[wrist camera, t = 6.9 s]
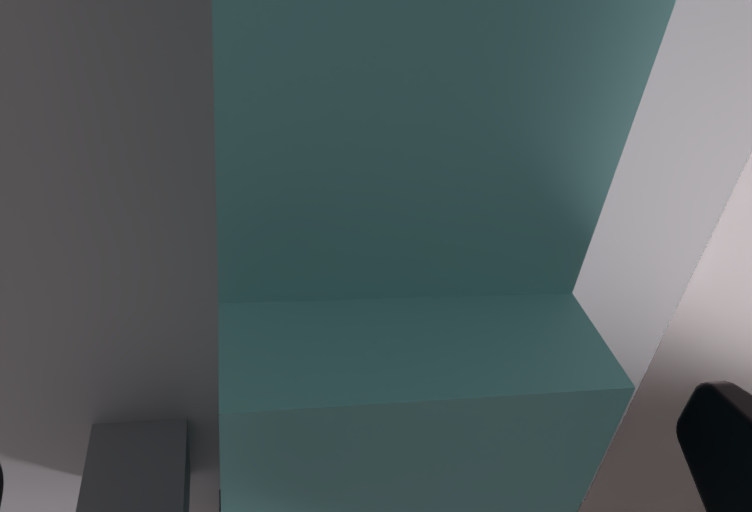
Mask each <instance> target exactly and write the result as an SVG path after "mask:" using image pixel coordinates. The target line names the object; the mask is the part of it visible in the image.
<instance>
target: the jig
mask: <svg viewBox="0 0 752 512" xmlns="http://www.w3.org/2000/svg"><path fill="white" fill-rule="evenodd" d="M751 152H752V0H676V3H675V5H674V8H673V11H672V14H671V17H670V20H669V22H668V25H667V28H666V31H665V34H664V36H663V39H662V42H661V45H660V48H659V50H658V53H657V56H656V59H655V62H654V65H653V67H652V70H651V73H650V76H649V79H648V81H647V84H646V87H645V90H644V93H643V95H642V98H641V101H640V104H639V107H638V110H637V112H636V115H635V118H634V121H633V124H632V126H631V129H630V132H629V135H628V138H627V140H626V143H625V146H624V149H623V152H622V155H621V157H620V160H619V163H618V166H617V169H616V171H615V174H614V177H613V180H612V183H611V185H610V188H609V191H608V194H607V197H606V200H605V202H604V205H603V208H602V211H601V214H600V216H599V219H598V222H597V225H596V228H595V230H594V233H593V236H592V239H591V242H590V245H589V247H588V250H587V253H586V256H585V259H584V261H583V264H582V267H581V270H580V273H579V275H578V278H577V281H576V284H575V287H574V290H573V292H572V293H573V295H574V296H575V298H576V299H577V301H578V302H579V304H580V305H581V307H582V308H583V310H584V311H585V313H586V314H587V316H588V317H589V319H590V320H591V322H592V323H593V325H594V326H595V328H596V329H597V331H598V332H599V334H600V335H601V337H602V338H603V340H604V341H605V343H606V344H607V346H608V347H609V349H610V350H611V352H612V353H613V355H614V356H615V358H616V359H617V361H618V362H619V364H620V365H621V367H622V368H623V369H624V371H625V372H626V374H627V375H628V377H629V378H630V380H631V381H632V383H633V384H634V386H635V387H636V388H635V390H634V392H633V395H632V397H631V399H630V401H629V403H628V405H627V407H626V409H625V412H624V414H623V416H622V418H621V420H620V422H619V424H618V426H617V429H616V431H615V433H614V435H613V437H612V439H611V441H610V443H609V446H608V448H607V450H606V452H605V454H604V456H603V458H602V460H601V463H600V465H599V467H598V469H597V471H596V473H595V475H594V477H593V480H592V482H591V484H590V486H589V488H588V490H587V492H586V494H585V497H584V499H583V500H585V498H586V496H587V494H588V492H589V490H590V488H591V485H592V483H593V481H594V479H595V477H596V475H597V473H598V471H599V469H600V467H601V465H602V462H603V460H604V458H605V456H606V454H607V452H608V450H609V448H610V446H611V444H612V442H613V440H614V437H615V435H616V433H617V431H618V429H619V427H620V425H621V423H622V421H623V419H624V417H625V415H626V412H627V410H628V408H629V406H630V404H631V402H632V400H633V398H634V396H635V394H636V392H637V390H638V387H639V385H640V383H641V381H642V379H643V377H644V375H645V373H646V371H647V369H648V367H649V364H650V362H651V360H652V358H653V356H654V354H655V352H656V350H657V348H658V346H659V344H660V342H661V339H662V337H663V335H664V333H665V331H666V329H667V327H668V325H669V323H670V321H671V319H672V317H673V314H674V312H675V310H676V308H677V306H678V304H679V302H680V300H681V298H682V296H683V294H684V291H685V289H686V287H687V285H688V283H689V281H690V279H691V277H692V275H693V273H694V271H695V269H696V266H697V264H698V262H699V260H700V258H701V256H702V254H703V252H704V250H705V248H706V246H707V244H708V241H709V239H710V237H711V235H712V233H713V231H714V229H715V227H716V225H717V223H718V221H719V218H720V216H721V214H722V212H723V210H724V208H725V206H726V204H727V202H728V200H729V198H730V196H731V193H732V191H733V189H734V187H735V185H736V183H737V181H738V179H739V177H740V175H741V173H742V171H743V168H744V166H745V164H746V162H747V160H748V158H749V156H750V154H751ZM0 464H1V467H2V470H3V477H4V487H3V496H2V502H1V507H0V512H221V489H220V447H219V338H218V261H217V214H216V167H215V120H214V73H213V26H212V0H0Z"/></svg>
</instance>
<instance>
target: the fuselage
mask: <svg viewBox="0 0 752 512" xmlns="http://www.w3.org/2000/svg"><path fill="white" fill-rule="evenodd" d="M675 3H676V0H212V26H213V73H214V120H215V167H216V214H217V261H218V338H219V447H220V489H221V512H577V511H578V509H579V507H580V505H581V503H582V501H583V499H584V497H585V494H586V492H587V490H588V488H589V486H590V484H591V482H592V480H593V477H594V475H595V473H596V471H597V469H598V467H599V465H600V463H601V460H602V458H603V456H604V454H605V452H606V450H607V448H608V446H609V443H610V441H611V439H612V437H613V435H614V433H615V431H616V429H617V426H618V424H619V422H620V420H621V418H622V416H623V414H624V412H625V409H626V407H627V405H628V403H629V401H630V399H631V397H632V395H633V392H634V390H635V388H636V387H635V386H634V384H633V383H632V381H631V380H630V378H629V377H628V375H627V374H626V372H625V371H624V369H623V368H622V367H621V365H620V364H619V362H618V361H617V359H616V358H615V356H614V355H613V353H612V352H611V350H610V349H609V347H608V346H607V344H606V343H605V341H604V340H603V338H602V337H601V335H600V334H599V332H598V331H597V329H596V328H595V326H594V325H593V323H592V322H591V320H590V319H589V317H588V316H587V314H586V313H585V311H584V310H583V308H582V307H581V305H580V304H579V302H578V301H577V299H576V298H575V296H574V295H573V293H572V292H573V290H574V287H575V284H576V281H577V278H578V275H579V273H580V270H581V267H582V264H583V261H584V259H585V256H586V253H587V250H588V247H589V245H590V242H591V239H592V236H593V233H594V230H595V228H596V225H597V222H598V219H599V216H600V214H601V211H602V208H603V205H604V202H605V200H606V197H607V194H608V191H609V188H610V185H611V183H612V180H613V177H614V174H615V171H616V169H617V166H618V163H619V160H620V157H621V155H622V152H623V149H624V146H625V143H626V140H627V138H628V135H629V132H630V129H631V126H632V124H633V121H634V118H635V115H636V112H637V110H638V107H639V104H640V101H641V98H642V95H643V93H644V90H645V87H646V84H647V81H648V79H649V76H650V73H651V70H652V67H653V65H654V62H655V59H656V56H657V53H658V50H659V48H660V45H661V42H662V39H663V36H664V34H665V31H666V28H667V25H668V22H669V20H670V17H671V14H672V11H673V8H674V5H675Z"/></svg>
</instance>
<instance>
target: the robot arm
mask: <svg viewBox="0 0 752 512" xmlns="http://www.w3.org/2000/svg"><path fill="white" fill-rule="evenodd" d="M676 432H677V438H678V441H679V443H680V446H681V449H682V451H683V454H684V456H685V459H686V461H687V464H688V466H689V469H690V471H691V474H692V477H693V479H694V482H695V484H696V487H697V489H698V492H699V494H700V497H701V500H702V502H703V505H704V507H705V510H706V512H752V395H751V394H749V393H748V392H746V391H745V390H743V389H741V388H740V387H738V386H736V385H735V384H733V383H730V382H725V381H720V382H705V383H701V384H700V385H698V386H697V387H696V388H695V390H694V391H693V393H692V395H691V397H690V399H689V401H688V402H687V404H686V406H685V408H684V410H683V412H682V413H681V415H680V417H679V419H678V421H677V426H676ZM3 487H4V477H3V470H2V467H1V464H0V507H1V502H2V496H3Z"/></svg>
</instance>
